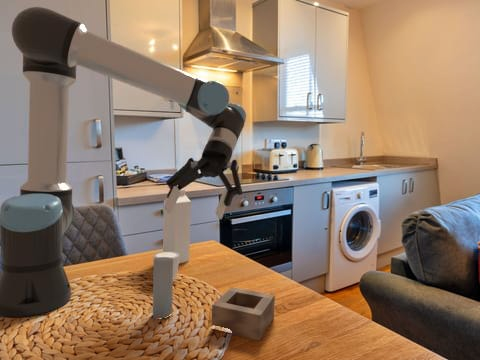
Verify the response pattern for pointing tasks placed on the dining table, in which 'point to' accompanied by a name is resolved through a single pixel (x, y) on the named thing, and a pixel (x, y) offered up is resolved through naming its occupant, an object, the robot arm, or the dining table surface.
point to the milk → (178, 228)
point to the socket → (244, 312)
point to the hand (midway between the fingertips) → (192, 213)
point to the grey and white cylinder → (171, 255)
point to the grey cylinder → (162, 287)
